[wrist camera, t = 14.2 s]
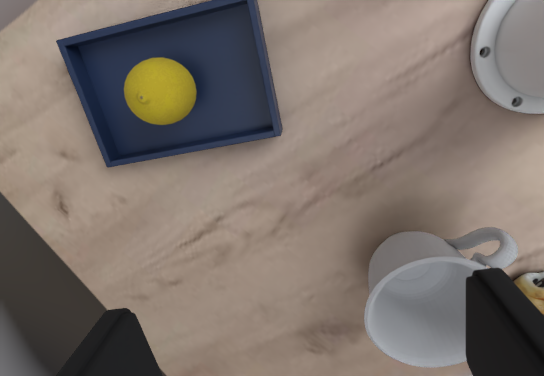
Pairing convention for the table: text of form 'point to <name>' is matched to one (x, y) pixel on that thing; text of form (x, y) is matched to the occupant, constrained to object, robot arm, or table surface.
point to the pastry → (532, 288)
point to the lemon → (160, 91)
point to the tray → (201, 65)
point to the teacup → (426, 294)
